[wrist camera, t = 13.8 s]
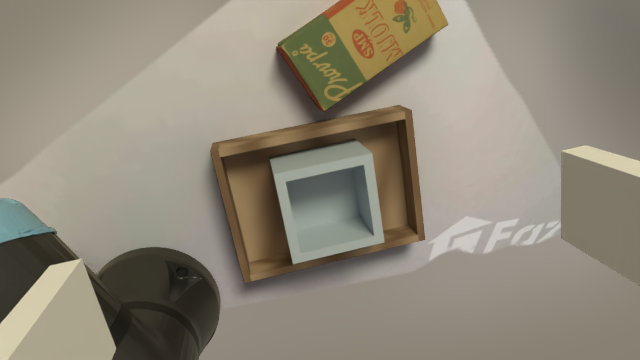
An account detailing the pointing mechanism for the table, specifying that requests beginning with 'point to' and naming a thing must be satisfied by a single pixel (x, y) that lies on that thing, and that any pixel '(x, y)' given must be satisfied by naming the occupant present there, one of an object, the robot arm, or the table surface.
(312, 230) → the small crate
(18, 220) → the robot arm
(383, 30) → the carton
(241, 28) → the table surface
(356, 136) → the crate
